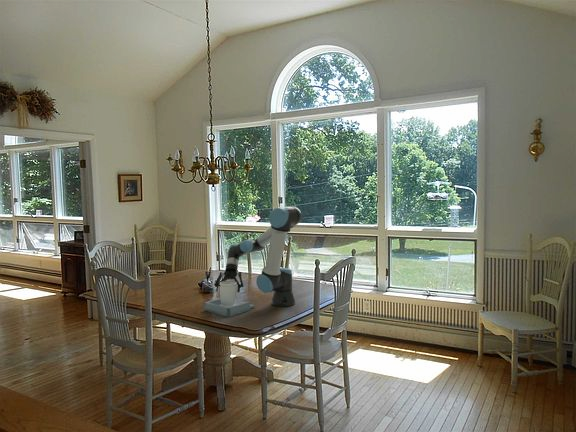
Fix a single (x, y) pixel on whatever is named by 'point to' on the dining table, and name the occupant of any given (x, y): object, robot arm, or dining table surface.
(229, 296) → the jar
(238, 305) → the tray
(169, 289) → the dining table surface
